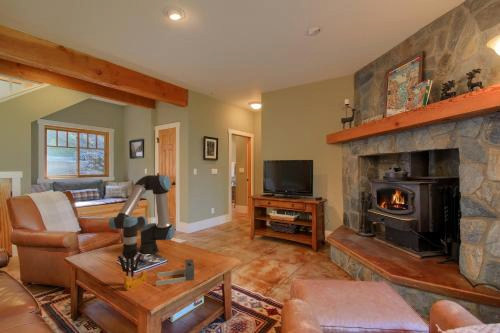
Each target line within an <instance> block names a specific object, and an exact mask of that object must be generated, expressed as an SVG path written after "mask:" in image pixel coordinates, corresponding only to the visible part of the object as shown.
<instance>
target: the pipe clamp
mask: <svg viewBox="0 0 500 333" xmlns="http://www.w3.org/2000/svg"><path fill="white" fill-rule="evenodd" d="M123 282H124V283H123V288H124V290H126V291H130V290H133V289H134V288H138V287H139V285H141V284H145V283H146V282H147V271H146V270H145V269H144V270H141V271H140V275H139V276H138V277H137V278H136V279H134V280H133V279H132V280H130V277H129V276H123Z"/></svg>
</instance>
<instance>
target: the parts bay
mask: <svg viewBox="0 0 500 333" xmlns="http://www.w3.org/2000/svg"><path fill="white" fill-rule="evenodd" d="M175 275H178V276H179V275H183V276H182V277H175V278H170V279H169V278H168V279H163V280H162V279H161V280H160V279H159V280H156V281H155V286H157V287H158V286H163V285H171V284H177V283H184V282H187V281H186V275H185V268H184V269H177V270H176V269H175V270H170V271H169V270H168V271H163V272H157V274H156V277H157V278H162V277H168V276H169V277H170V276H175Z"/></svg>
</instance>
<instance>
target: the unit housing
mask: <svg viewBox="0 0 500 333" xmlns="http://www.w3.org/2000/svg"><path fill="white" fill-rule="evenodd" d="M184 269H185V275H186V282H188V281H193V280H194V281H195V263H194V259H193V258H190V259H184Z"/></svg>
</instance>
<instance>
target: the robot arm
mask: <svg viewBox="0 0 500 333" xmlns="http://www.w3.org/2000/svg"><path fill="white" fill-rule="evenodd" d="M171 185H172V183H171V179H170V177H169V176H167V175H163V174H159V175H158V174H156V175H155V174H153V175H151V174H150V175H148V174H147V175H145V176H142V177H141V178H139V179H138V180H137V181H136V182H135V183H134V185H133V186H132V190H131V192H130V194H129V196H128V197H127V199H126V201H125V202H124V204H123V205H122V207H121V209H120V210H119V212H118V214H117V215H116V216H112V217H110V219H109V221H108V226H109V228H110V229H112V230H123V233H122V234H123V235H122V240H123V241H122V243H123V244H122V252H121V254H119V255H118V256H117V259H118V260H119V262H120V266H121V270H122V272H125V275H126V276H129V277H130V280H133V279H132V278H133V277H134V272H135V271H136V270H137V269H138V265H139V263H140V258H141V257H142V256H143V255H142V254H153V255H156V254H158V252H159V247H158V243H157V241H170V240H171V241H172V239H173V238H174V235H175V232H176V226H175V225H173V222H172V221H170V215H169V214H170V213H169V203H168V193H170V192H169V191H170V190H171ZM147 191H152V195H154V196H155V197H154V198H155V205H156V213H157V222H158V223H156V222H155V223H154V222H151V223H148V218H147V217H146V216H144V215H141V216H140V215H139V216H132V215H133V212H134V211H135V209H136V207H137V205H138V203H139V202H140V200H141V198H142V197H143V195H144V194H146V192H147ZM139 230H140V245H139V248H138V231H139ZM136 256H137V258H136V261H135V257H136ZM124 258H125V261H126V262H125V261H124ZM125 263H126V264H125Z"/></svg>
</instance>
